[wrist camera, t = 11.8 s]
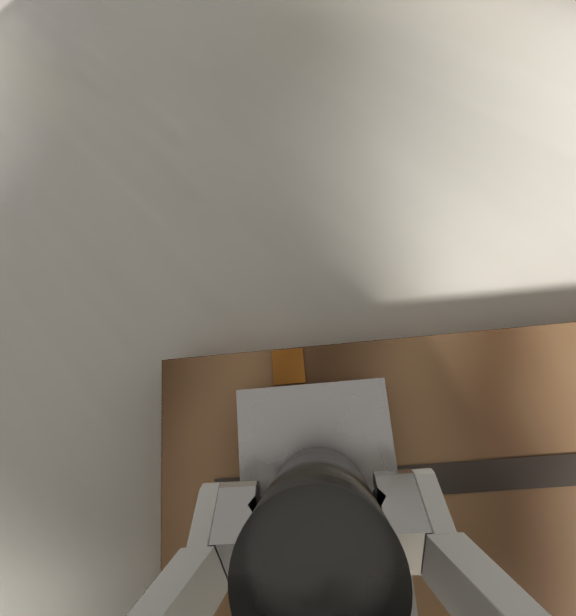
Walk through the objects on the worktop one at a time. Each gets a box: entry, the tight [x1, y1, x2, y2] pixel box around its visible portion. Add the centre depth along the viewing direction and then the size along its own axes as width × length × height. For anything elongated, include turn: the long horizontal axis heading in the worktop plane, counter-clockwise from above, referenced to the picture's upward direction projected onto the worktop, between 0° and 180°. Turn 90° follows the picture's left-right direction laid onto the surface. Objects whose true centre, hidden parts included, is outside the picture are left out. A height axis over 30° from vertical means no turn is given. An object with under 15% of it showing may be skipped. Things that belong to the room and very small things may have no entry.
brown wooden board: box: [161, 322, 576, 616], centre depth 14 cm, size 26×10×2 cm, turn 95°
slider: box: [228, 378, 418, 616], centre depth 10 cm, size 5×7×7 cm
